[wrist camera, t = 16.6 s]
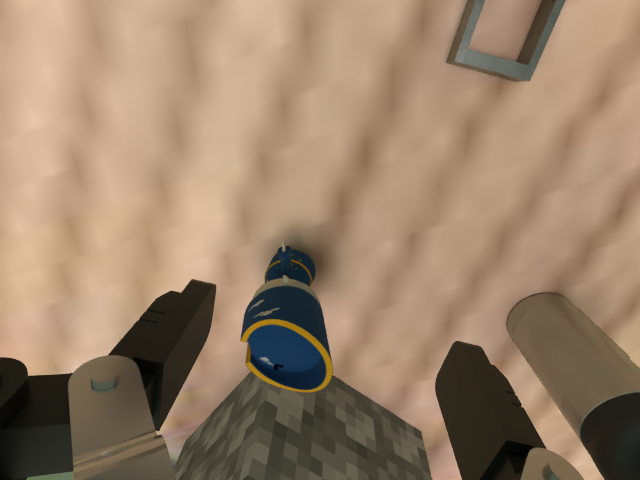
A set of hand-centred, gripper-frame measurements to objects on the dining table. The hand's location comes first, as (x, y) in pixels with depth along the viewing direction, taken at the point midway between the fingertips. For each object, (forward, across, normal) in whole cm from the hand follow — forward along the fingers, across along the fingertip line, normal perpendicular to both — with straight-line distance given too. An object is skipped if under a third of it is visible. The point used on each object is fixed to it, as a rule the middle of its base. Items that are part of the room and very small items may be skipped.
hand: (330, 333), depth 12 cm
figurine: (+34, +1, +16) cm, 38 cm away
